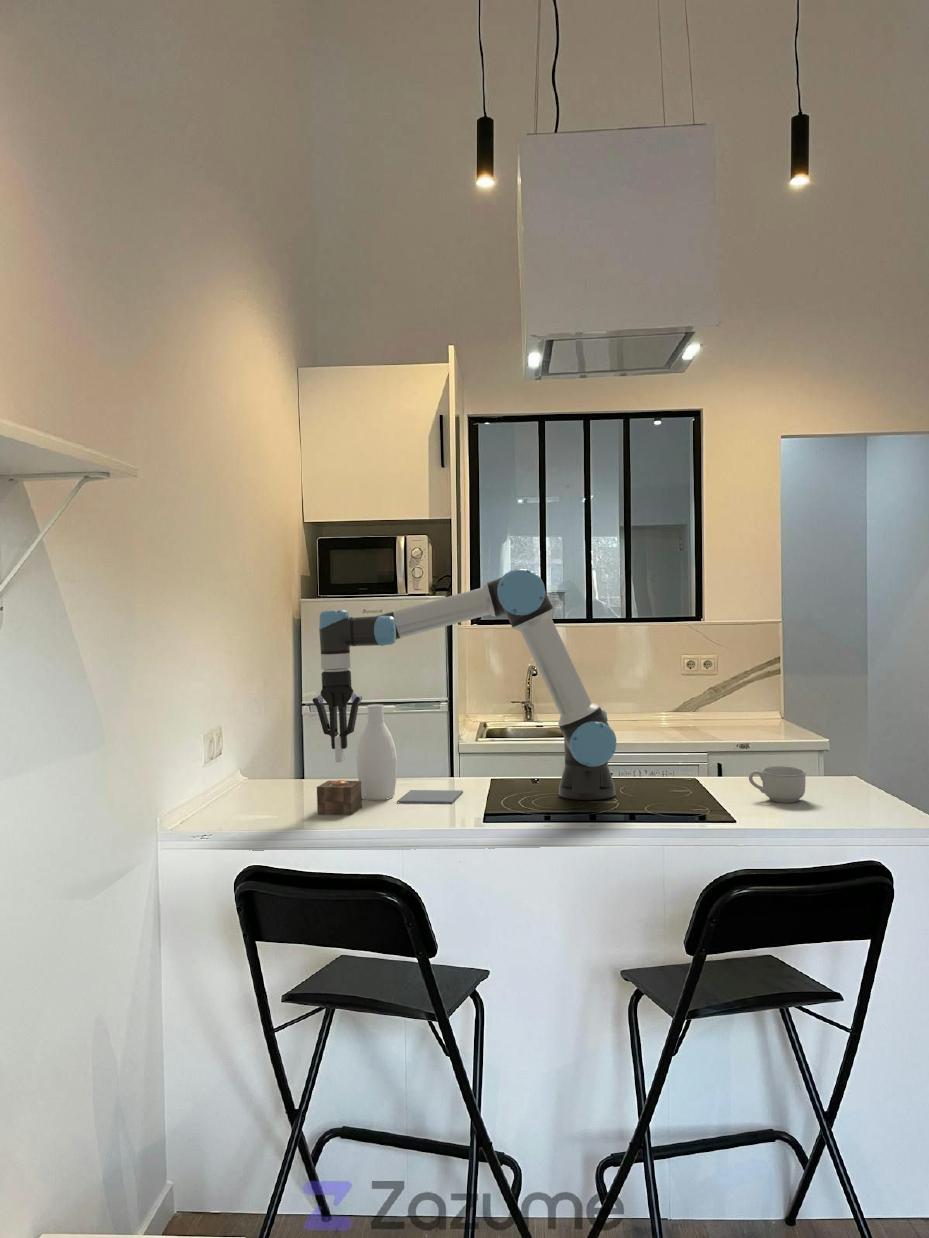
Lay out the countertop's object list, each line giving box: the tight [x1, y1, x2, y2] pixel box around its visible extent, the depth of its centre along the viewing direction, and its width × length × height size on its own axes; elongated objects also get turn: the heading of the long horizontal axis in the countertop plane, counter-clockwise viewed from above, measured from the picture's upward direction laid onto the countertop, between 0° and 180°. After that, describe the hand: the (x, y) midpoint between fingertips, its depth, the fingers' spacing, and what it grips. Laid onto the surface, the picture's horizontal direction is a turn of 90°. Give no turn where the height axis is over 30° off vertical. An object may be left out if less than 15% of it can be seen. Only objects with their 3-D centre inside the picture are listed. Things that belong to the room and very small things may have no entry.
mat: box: [396, 789, 464, 805], centre depth 261 cm, size 15×15×1 cm
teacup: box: [748, 765, 807, 804], centre depth 246 cm, size 14×11×8 cm
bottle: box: [356, 703, 398, 801], centre depth 264 cm, size 11×11×25 cm
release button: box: [328, 779, 350, 786], centre depth 247 cm, size 4×4×6 cm
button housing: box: [316, 780, 363, 816], centre depth 247 cm, size 9×9×7 cm
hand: (340, 761), depth 247 cm, fingers closed
